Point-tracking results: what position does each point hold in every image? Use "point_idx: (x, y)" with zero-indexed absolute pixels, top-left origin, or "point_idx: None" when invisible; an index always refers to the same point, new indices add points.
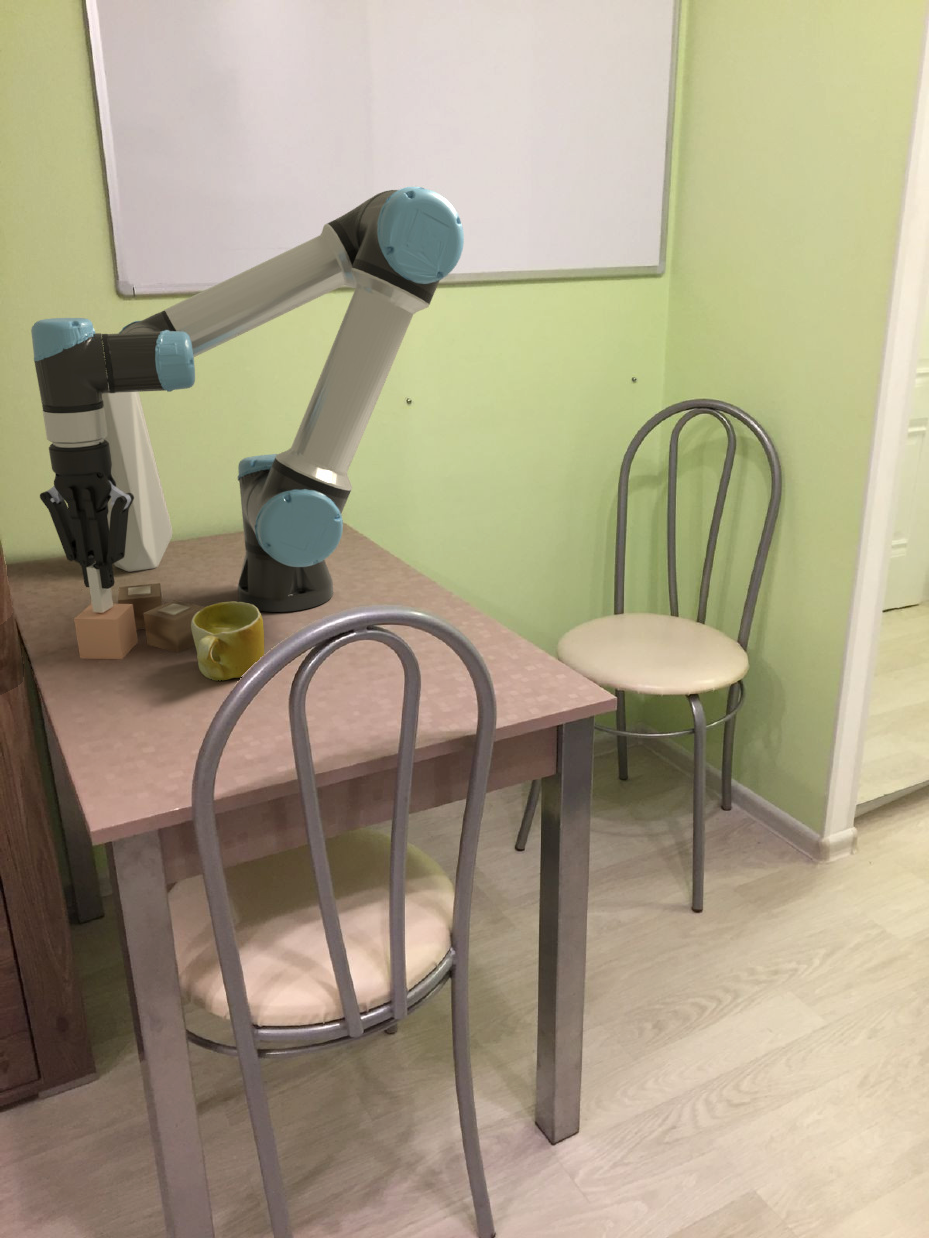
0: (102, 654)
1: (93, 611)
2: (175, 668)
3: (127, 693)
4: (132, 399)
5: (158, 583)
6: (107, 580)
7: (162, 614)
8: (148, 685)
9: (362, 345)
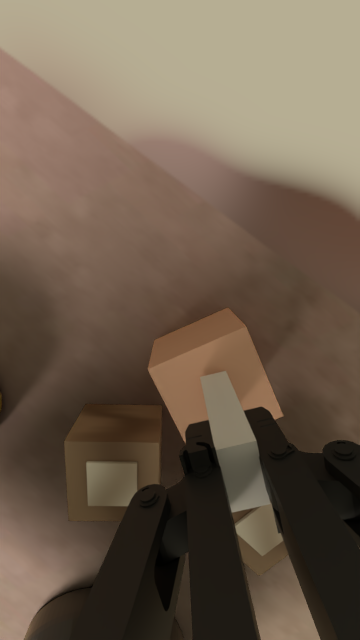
0: (188, 327)
1: (225, 371)
2: (36, 351)
3: (24, 230)
4: None
5: (261, 573)
6: (188, 440)
7: (114, 454)
8: (19, 274)
9: None
